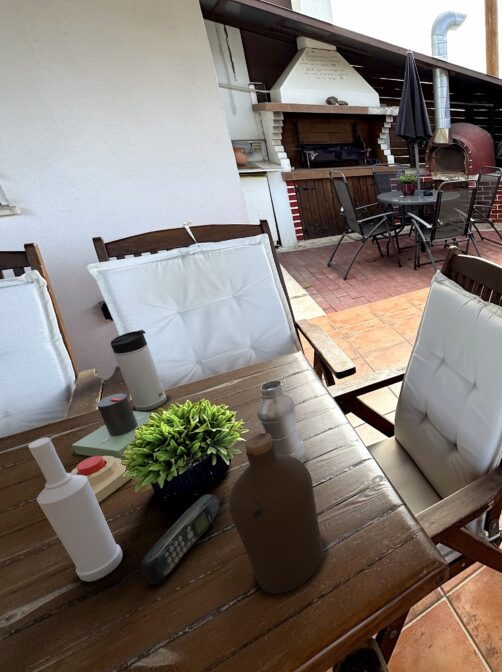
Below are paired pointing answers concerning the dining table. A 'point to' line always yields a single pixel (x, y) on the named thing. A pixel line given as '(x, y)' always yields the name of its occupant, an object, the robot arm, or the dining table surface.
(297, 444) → the plastic bottle
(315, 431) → the dining table surface
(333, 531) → the dining table surface
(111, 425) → the timer dial
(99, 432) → the control panel
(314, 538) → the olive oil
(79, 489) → the bottle
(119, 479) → the button block
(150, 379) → the travel mug
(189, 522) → the mobile phone
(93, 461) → the power button
